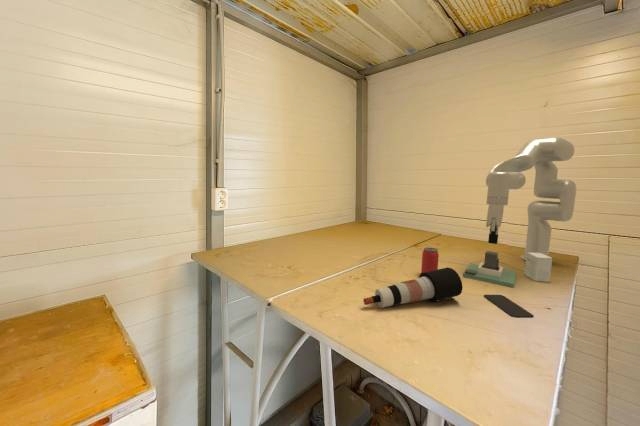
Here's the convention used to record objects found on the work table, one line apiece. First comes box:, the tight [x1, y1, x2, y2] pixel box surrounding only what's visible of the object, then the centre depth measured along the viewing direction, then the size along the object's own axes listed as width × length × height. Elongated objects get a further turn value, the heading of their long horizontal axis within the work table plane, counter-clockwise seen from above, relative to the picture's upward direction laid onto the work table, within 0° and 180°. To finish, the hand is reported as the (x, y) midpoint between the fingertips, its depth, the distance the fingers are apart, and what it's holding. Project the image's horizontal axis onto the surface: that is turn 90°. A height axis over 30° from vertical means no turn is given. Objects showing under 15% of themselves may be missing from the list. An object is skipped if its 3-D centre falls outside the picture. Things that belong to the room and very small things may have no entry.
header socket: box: [478, 262, 504, 278], centre depth 116 cm, size 8×8×2 cm
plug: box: [483, 250, 500, 270], centre depth 115 cm, size 4×5×9 cm
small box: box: [524, 252, 553, 283], centre depth 113 cm, size 8×6×10 cm
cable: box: [363, 266, 463, 308], centre depth 90 cm, size 10×34×10 cm, turn 105°
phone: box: [483, 294, 535, 319], centre depth 89 cm, size 7×1×15 cm
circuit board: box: [462, 263, 517, 288], centre depth 116 cm, size 18×18×2 cm
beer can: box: [420, 247, 440, 274], centre depth 116 cm, size 7×7×12 cm
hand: (492, 243), depth 114 cm, fingers closed
